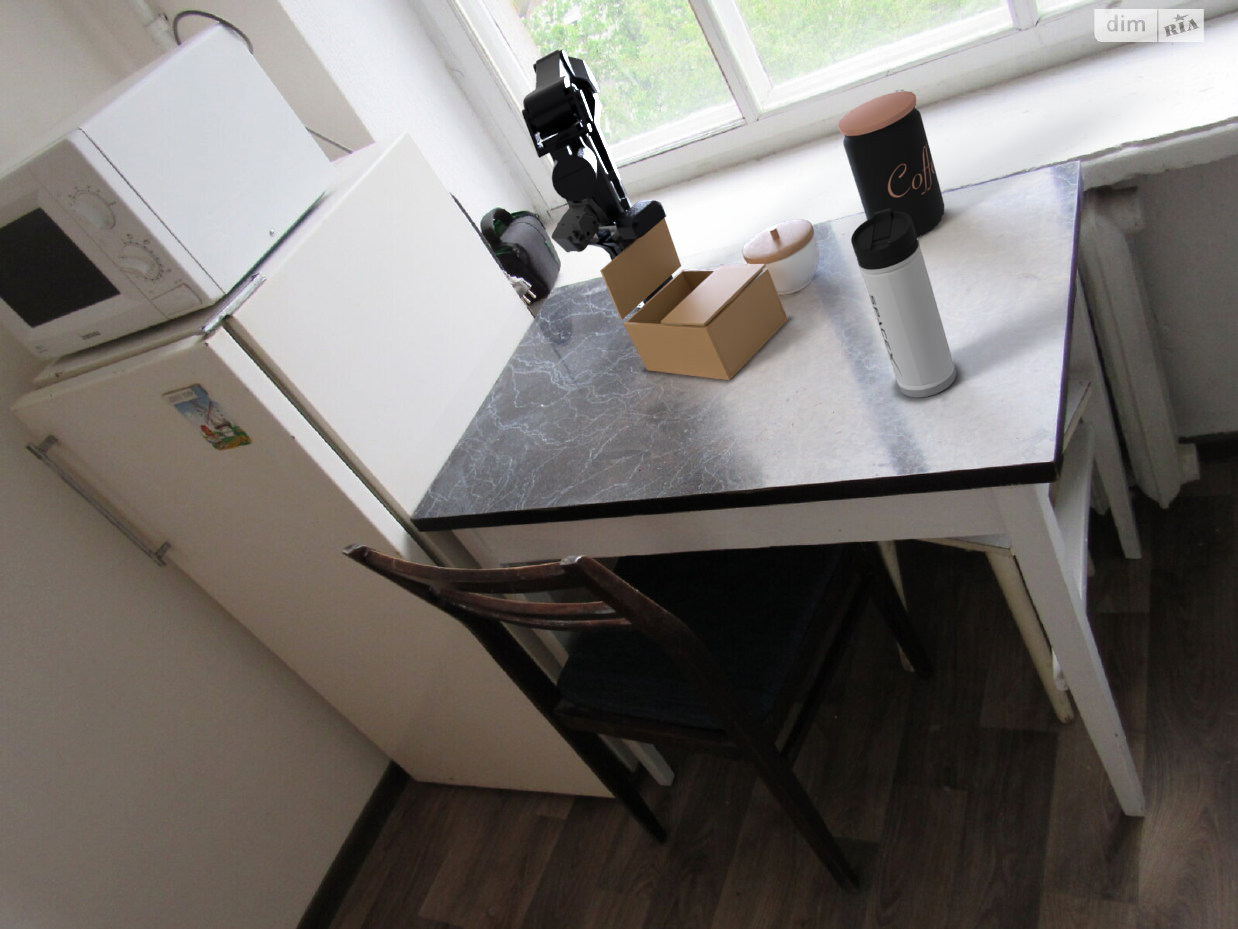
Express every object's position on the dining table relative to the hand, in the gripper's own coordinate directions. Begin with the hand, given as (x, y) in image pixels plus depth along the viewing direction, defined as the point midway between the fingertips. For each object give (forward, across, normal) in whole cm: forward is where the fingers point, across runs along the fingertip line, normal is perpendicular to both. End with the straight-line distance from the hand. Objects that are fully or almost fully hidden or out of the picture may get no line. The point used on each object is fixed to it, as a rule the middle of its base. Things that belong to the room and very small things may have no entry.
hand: (633, 272), depth 128 cm
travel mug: (+13, +46, -3) cm, 48 cm away
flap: (-1, +3, 0) cm, 3 cm away
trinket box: (+13, +13, +16) cm, 25 cm away
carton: (+13, +10, 0) cm, 16 cm away
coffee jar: (+13, +24, +31) cm, 41 cm away
